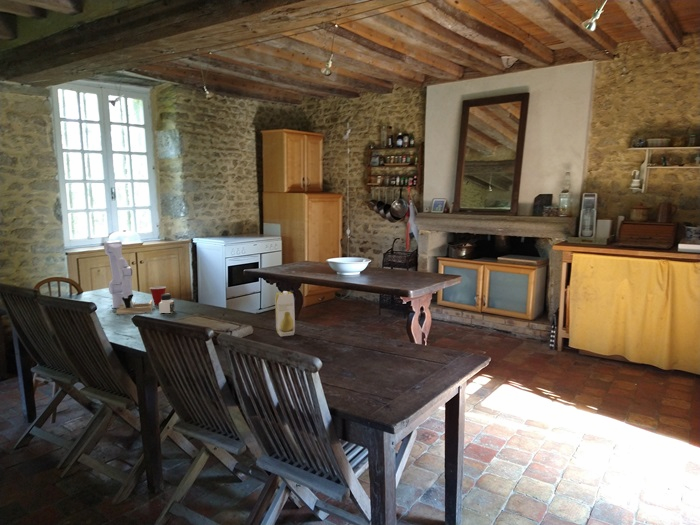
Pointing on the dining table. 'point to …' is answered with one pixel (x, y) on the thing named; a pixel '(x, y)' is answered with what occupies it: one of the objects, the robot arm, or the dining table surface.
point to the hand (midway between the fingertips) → (128, 306)
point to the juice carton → (285, 313)
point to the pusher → (133, 305)
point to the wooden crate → (139, 308)
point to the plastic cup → (157, 293)
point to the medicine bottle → (166, 304)
